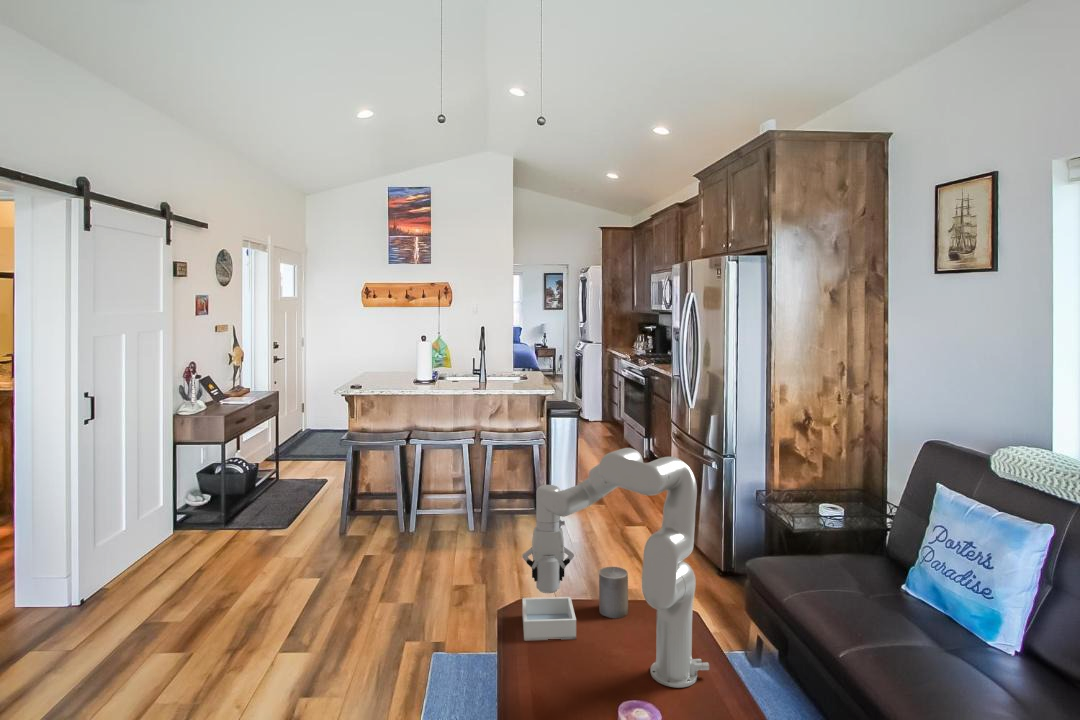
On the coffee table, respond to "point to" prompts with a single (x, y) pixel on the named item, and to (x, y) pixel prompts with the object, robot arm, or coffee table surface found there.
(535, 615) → the walled box
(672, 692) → the coffee table surface
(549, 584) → the can
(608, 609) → the pillar candle
